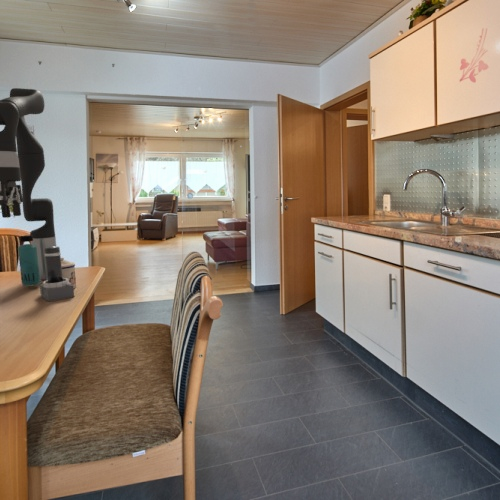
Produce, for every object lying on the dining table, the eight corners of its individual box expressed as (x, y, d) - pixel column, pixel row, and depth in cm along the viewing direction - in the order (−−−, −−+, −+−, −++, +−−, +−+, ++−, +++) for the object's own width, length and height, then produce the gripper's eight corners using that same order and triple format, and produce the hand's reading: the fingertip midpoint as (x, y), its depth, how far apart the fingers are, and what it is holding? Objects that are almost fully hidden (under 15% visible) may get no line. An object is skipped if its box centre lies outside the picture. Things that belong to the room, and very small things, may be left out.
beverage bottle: (37, 284, 152) (31, 234, 149) (44, 287, 148) (39, 235, 145) (19, 288, 147) (12, 235, 144) (26, 290, 143) (20, 236, 140)
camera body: (40, 296, 135) (38, 280, 134) (65, 291, 140) (64, 276, 140) (47, 301, 128) (46, 285, 127) (74, 296, 133) (72, 281, 132)
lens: (46, 285, 134) (42, 247, 132) (61, 282, 137) (57, 245, 135) (50, 287, 130) (45, 248, 128) (65, 284, 133) (61, 246, 131)
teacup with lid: (75, 290, 142) (72, 258, 140) (48, 292, 139) (44, 260, 138) (79, 282, 153) (76, 253, 152) (54, 285, 151) (51, 255, 149)
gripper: (9, 165, 119) (15, 217, 122) (27, 167, 133) (32, 214, 136) (-18, 165, 118) (-11, 218, 120) (3, 167, 132) (8, 215, 134)
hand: (12, 216), depth 128 cm, fingers open, 8 cm apart
